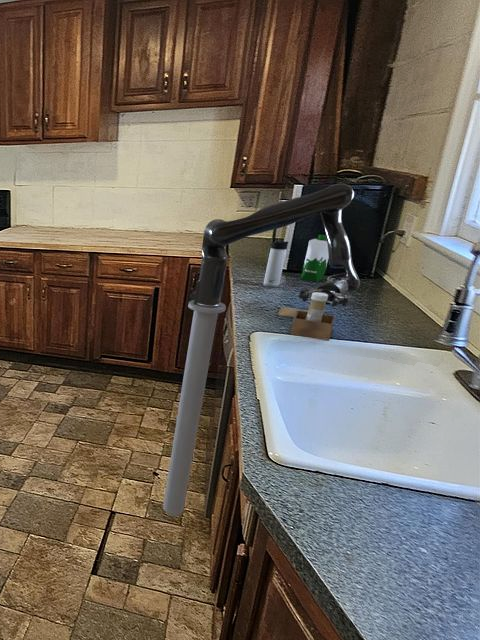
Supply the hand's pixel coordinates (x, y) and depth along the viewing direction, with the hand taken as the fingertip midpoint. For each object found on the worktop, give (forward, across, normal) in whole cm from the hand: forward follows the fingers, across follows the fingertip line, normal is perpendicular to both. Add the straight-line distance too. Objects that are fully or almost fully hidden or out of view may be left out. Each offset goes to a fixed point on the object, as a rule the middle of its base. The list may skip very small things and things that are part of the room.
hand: (318, 300), depth 172 cm
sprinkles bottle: (0, 0, +11) cm, 11 cm away
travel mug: (-56, -30, +11) cm, 65 cm away
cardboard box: (0, 0, +11) cm, 11 cm away
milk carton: (-84, -21, +11) cm, 87 cm away
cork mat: (-19, -10, +11) cm, 24 cm away
